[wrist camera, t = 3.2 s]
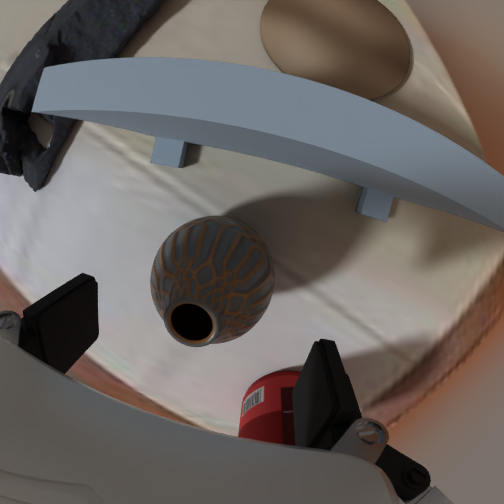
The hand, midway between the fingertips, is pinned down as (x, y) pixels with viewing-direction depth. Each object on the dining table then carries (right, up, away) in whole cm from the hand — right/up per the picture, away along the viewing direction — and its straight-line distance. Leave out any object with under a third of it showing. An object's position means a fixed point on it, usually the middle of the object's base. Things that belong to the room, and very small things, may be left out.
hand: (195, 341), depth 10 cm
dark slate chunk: (-14, +20, +5) cm, 26 cm away
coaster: (+8, +19, +4) cm, 21 cm away
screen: (+4, +10, +6) cm, 13 cm away
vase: (0, +3, +9) cm, 10 cm away
